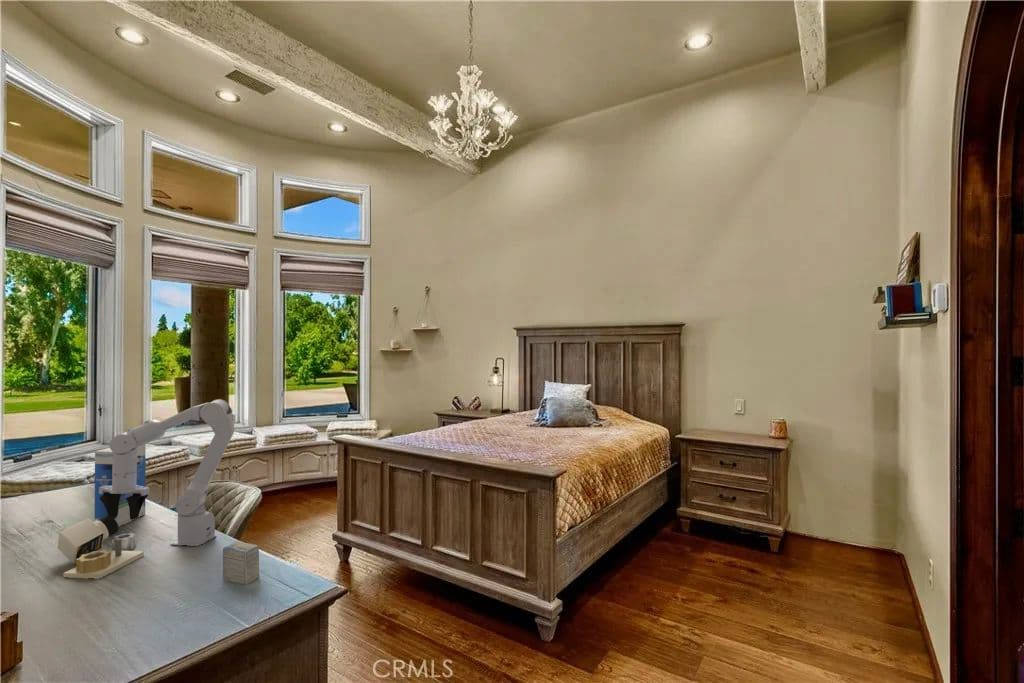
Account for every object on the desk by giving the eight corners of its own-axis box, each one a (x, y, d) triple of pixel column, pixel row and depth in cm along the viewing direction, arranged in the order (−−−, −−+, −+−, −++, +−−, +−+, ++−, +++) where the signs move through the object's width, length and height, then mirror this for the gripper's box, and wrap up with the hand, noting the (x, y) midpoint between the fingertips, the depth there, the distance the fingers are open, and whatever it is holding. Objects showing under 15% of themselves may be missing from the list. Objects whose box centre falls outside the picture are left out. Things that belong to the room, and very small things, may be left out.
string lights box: (126, 514, 174) (126, 442, 174) (147, 515, 173) (147, 443, 173) (93, 528, 160) (93, 451, 160) (115, 529, 160) (115, 451, 160)
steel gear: (140, 545, 147) (140, 533, 147) (124, 552, 142) (124, 540, 142) (123, 544, 148) (123, 532, 148) (107, 552, 142) (107, 539, 142)
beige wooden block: (259, 577, 127) (259, 544, 127) (245, 585, 123) (245, 551, 123) (237, 573, 130) (237, 540, 130) (222, 580, 125) (222, 547, 125)
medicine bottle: (75, 548, 132) (123, 522, 143) (58, 532, 133) (107, 507, 144) (73, 564, 135) (120, 537, 146) (56, 548, 136) (104, 523, 147)
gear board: (143, 555, 140) (144, 536, 140) (98, 578, 126) (99, 557, 126) (111, 554, 141) (112, 535, 141) (63, 577, 127) (63, 556, 127)
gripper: (89, 475, 142) (88, 521, 142) (135, 477, 141) (134, 524, 140) (111, 469, 149) (110, 513, 149) (155, 470, 148) (154, 515, 148)
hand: (123, 518), depth 145 cm, fingers open, 6 cm apart
